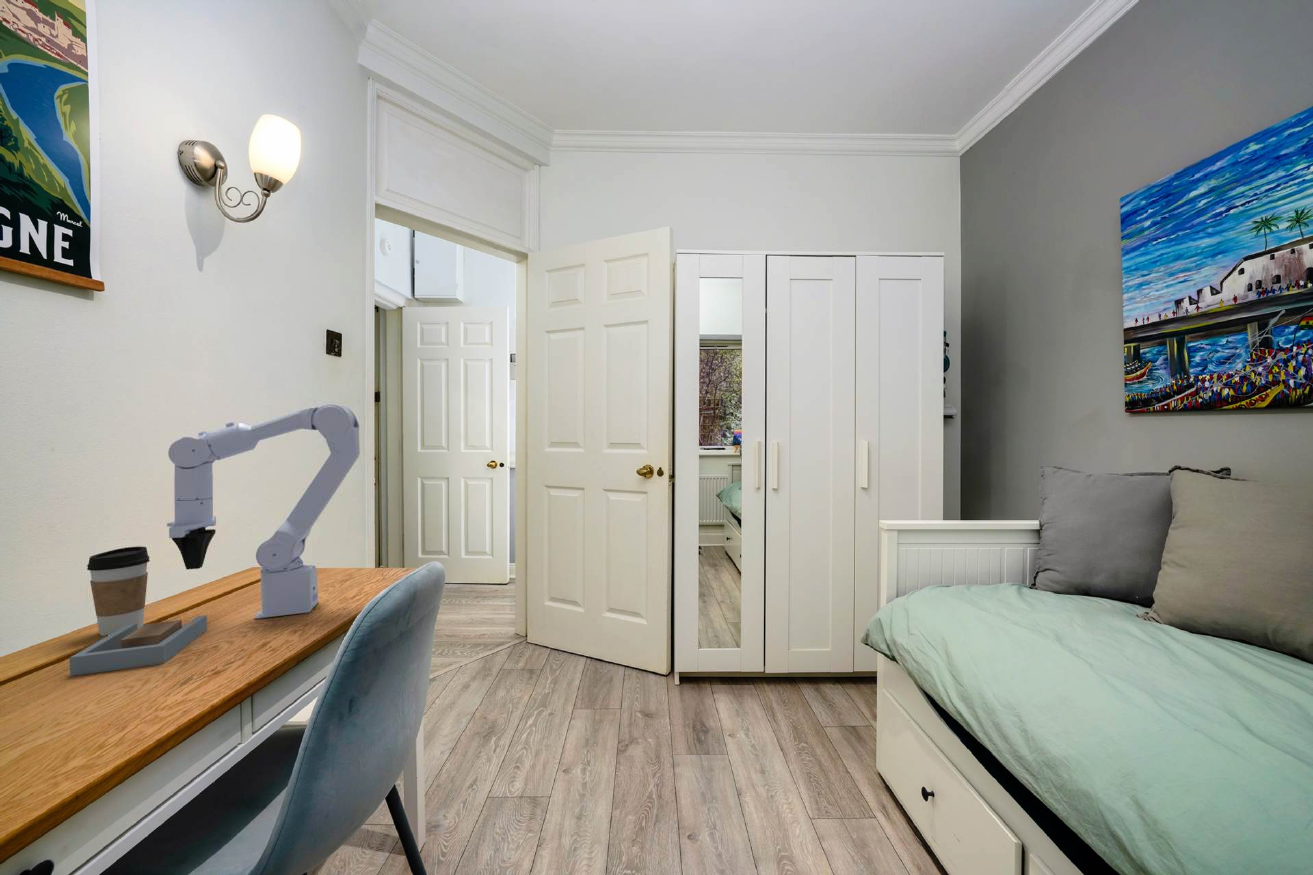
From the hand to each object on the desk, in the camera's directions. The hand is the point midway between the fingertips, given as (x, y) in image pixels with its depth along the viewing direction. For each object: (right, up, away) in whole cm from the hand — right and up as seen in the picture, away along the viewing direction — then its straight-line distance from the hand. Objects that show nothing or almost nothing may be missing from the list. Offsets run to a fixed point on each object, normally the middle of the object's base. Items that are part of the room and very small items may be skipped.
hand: (194, 568), depth 105 cm
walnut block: (+4, -11, -13) cm, 17 cm away
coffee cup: (-10, -11, -4) cm, 16 cm away
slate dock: (+4, -11, -14) cm, 18 cm away
